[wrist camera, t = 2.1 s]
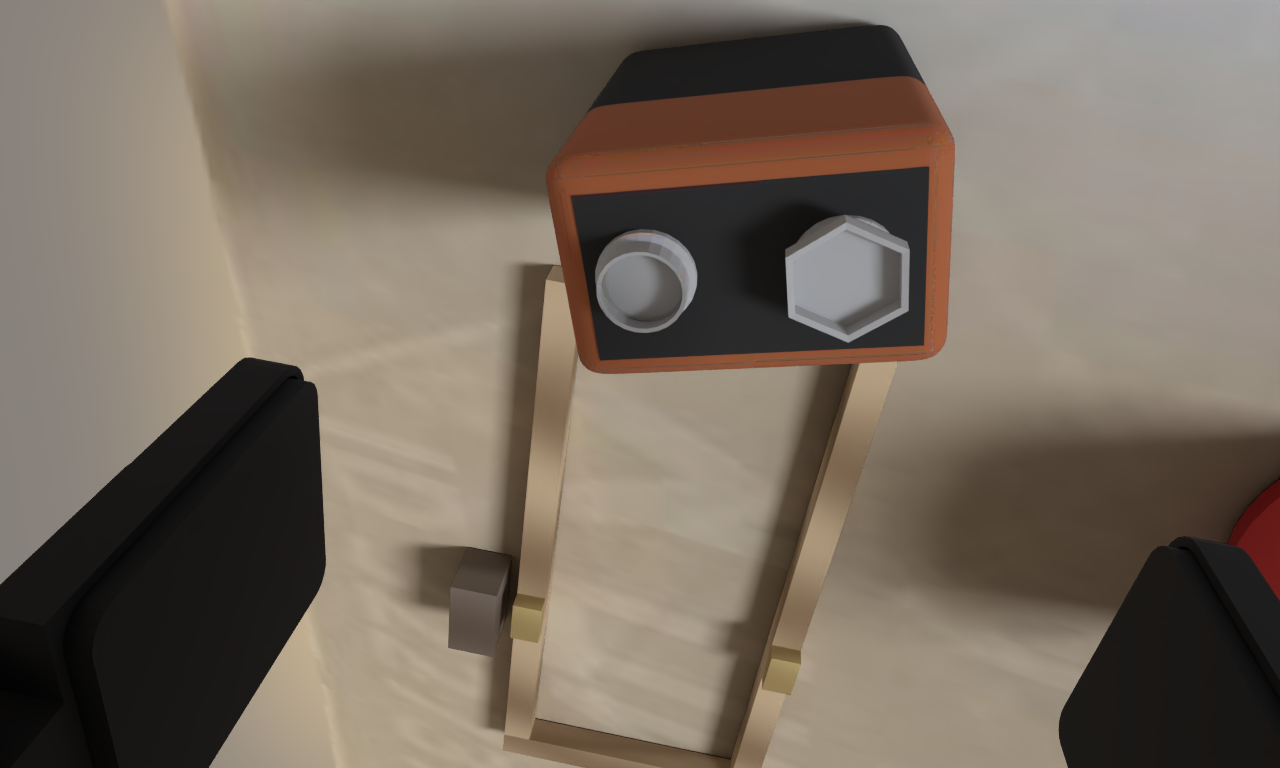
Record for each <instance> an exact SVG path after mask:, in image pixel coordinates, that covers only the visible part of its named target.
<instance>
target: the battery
mask: <svg viewBox="0 0 1280 768" xmlns="http://www.w3.org/2000/svg"><path fill="white" fill-rule="evenodd" d="M954 163H955V144H954V138H953V136H952V134H951V132H950V130H949V128H948V126H947V124H946V122H945V120H944V118H943V117H942V115H941V113H940V111H939V109H938V107H937V105H936V103H935V102H934V100H933V98H932V96H931V94H930V92H929V90H928V88H927V87H926V85H925V83H924V81H923V79H922V77H921V75H920V73H919V72H918V70H917V68H916V66H915V64H914V62H913V60H912V58H911V57H910V55H909V53H908V51H907V49H906V47H905V45H904V43H903V42H902V40H901V38H900V36H899V35H898V34H897V32H896V31H895V30H893V29H892V28H890V27H888V26H885V25H874V26H863V27H853V28H844V29H835V30H826V31H817V32H808V33H799V34H790V35H780V36H771V37H762V38H753V39H744V40H735V41H726V42H717V43H708V44H699V45H689V46H680V47H671V48H662V49H654V50H646V51H640V52H636V53H633V54H631V55H629V56H628V57H627V58H626V59H625V60H624V61H623V62H622V64H621V65H620V66H619V68H618V69H617V71H616V72H615V73H614V75H613V76H612V78H611V79H610V81H609V82H608V83H607V85H606V86H605V88H604V89H603V90H602V92H601V93H600V95H599V96H598V98H597V99H596V100H595V102H594V103H593V105H592V106H591V107H590V109H589V110H588V112H587V113H586V115H585V116H584V117H583V119H582V120H581V122H580V123H579V124H578V126H577V127H576V129H575V130H574V132H573V133H572V134H571V136H570V137H569V139H568V140H567V141H566V143H565V144H564V146H563V147H562V149H561V150H560V151H559V153H558V154H557V156H556V157H555V158H554V160H553V161H552V163H551V164H550V166H549V168H548V170H547V173H546V184H547V190H548V196H549V202H550V207H551V212H552V218H553V223H554V228H555V234H556V239H557V244H558V250H559V255H560V260H561V266H562V271H563V276H564V282H565V287H566V292H567V298H568V303H569V308H570V314H571V319H572V324H573V330H574V335H575V340H576V346H577V351H578V355H579V358H580V361H581V362H582V364H583V365H584V366H585V367H586V368H587V369H588V370H590V371H593V372H596V373H603V374H624V373H649V372H672V371H695V370H718V369H741V368H764V367H786V366H809V365H832V364H855V363H878V362H899V361H914V360H923V359H927V358H930V357H932V356H934V355H936V354H937V353H938V352H939V351H940V350H941V349H942V348H943V346H944V344H945V342H946V336H947V323H948V300H949V277H950V255H951V232H952V209H953V186H954Z"/></svg>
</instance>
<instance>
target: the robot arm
mask: <svg viewBox="0 0 1280 768" xmlns="http://www.w3.org/2000/svg"><path fill="white" fill-rule="evenodd" d="M325 566H326V555H325V535H324V514H323V494H322V474H321V454H320V433H319V413H318V395H317V389H316V387H315V384H313V383H312V382H307V381H304V377H303V374H302V372H301V370H300V369H299V368H298V367H297V366H292V365H287V364H282V363H277V362H271V361H266V360H261V359H256V358H244V359H242V360H241V361H239V362H238V363H237V364H236V365H235V366H234V367H233V368H231V369H230V370H229V371H228V372H227V373H226V374H225V375H224V376H223V377H222V378H221V379H220V380H219V381H218V382H217V383H215V384H214V385H213V386H212V387H211V388H210V389H209V390H208V391H207V392H206V393H205V394H204V395H203V396H202V397H201V398H200V399H198V400H197V401H196V402H195V403H194V404H193V405H192V406H191V407H190V408H189V409H188V410H187V411H186V412H185V413H184V414H183V415H182V416H180V417H179V418H178V419H177V420H176V421H175V422H174V423H173V424H172V425H171V426H170V427H169V428H168V429H167V430H166V431H165V432H163V433H162V434H161V435H160V436H159V437H158V438H157V439H156V440H155V441H154V442H153V443H152V444H151V445H150V446H149V447H148V448H147V449H145V450H144V451H143V452H142V453H141V454H140V455H139V456H138V457H137V458H136V459H135V460H134V461H133V462H132V463H131V464H129V465H128V466H126V467H125V468H124V469H123V470H122V471H121V472H120V473H119V474H118V475H116V476H115V477H114V478H113V479H112V480H111V481H110V482H109V483H108V484H107V485H106V486H105V487H104V488H103V489H102V490H100V491H99V492H98V493H97V494H96V495H95V496H94V497H93V498H92V499H91V500H90V501H89V502H88V503H87V504H86V505H85V506H83V508H81V509H80V510H79V511H78V512H77V513H76V514H75V515H74V516H73V517H72V518H71V519H70V520H69V521H68V522H66V523H65V524H64V525H63V526H62V527H61V528H60V529H59V530H58V531H57V532H56V533H55V534H54V535H53V536H52V537H51V538H49V539H48V540H47V541H46V542H45V543H44V544H43V545H42V546H41V547H40V548H39V549H38V550H37V551H36V552H35V553H33V554H32V555H31V556H30V557H29V558H28V559H27V560H26V561H25V562H24V563H23V564H22V565H21V566H20V567H19V568H18V569H17V570H15V572H13V573H12V574H11V575H10V576H9V577H8V578H7V579H6V580H5V581H4V582H3V583H2V584H0V768H209V766H210V765H211V763H212V761H213V760H214V758H215V756H216V755H217V753H218V751H219V750H220V749H221V747H222V745H223V744H224V742H225V740H226V739H227V737H228V735H229V734H230V732H231V731H232V729H233V728H234V726H235V724H236V723H237V721H238V720H239V718H240V716H241V715H242V713H243V711H244V710H245V708H246V707H247V705H248V704H249V702H250V700H251V699H252V697H253V696H254V694H255V692H256V691H257V689H258V687H259V686H260V684H261V683H262V681H263V679H264V678H265V676H266V675H267V673H268V671H269V670H270V668H271V667H272V665H273V663H274V662H275V660H276V658H277V657H278V655H279V654H280V652H281V651H282V649H283V647H284V646H285V644H286V642H287V641H288V639H289V638H290V636H291V634H292V633H293V631H294V630H295V628H296V626H297V625H298V623H299V622H300V620H301V618H302V617H303V615H304V614H305V612H306V610H307V609H308V607H309V606H310V604H311V602H312V601H313V599H314V598H315V596H316V594H317V592H318V590H319V588H320V586H321V583H322V580H323V577H324V572H325ZM1059 739H1060V743H1061V747H1062V750H1063V753H1064V756H1065V759H1066V763H1067V766H1068V768H1280V601H1279V599H1278V598H1277V596H1276V595H1275V593H1274V592H1273V590H1272V589H1271V587H1270V586H1269V584H1268V583H1267V581H1266V580H1265V578H1264V577H1263V575H1262V574H1261V572H1260V571H1259V569H1258V568H1257V566H1256V565H1255V563H1254V562H1253V560H1252V559H1251V557H1250V556H1249V555H1248V554H1247V553H1246V552H1245V551H1244V550H1243V549H1242V548H1239V547H1237V546H1233V545H1228V544H1223V543H1218V542H1212V541H1207V540H1202V539H1197V538H1191V537H1186V536H1184V537H1178V538H1177V539H1175V540H1174V541H1172V542H1171V543H1170V545H1169V546H1168V547H1167V546H1159V547H1157V548H1156V549H1155V550H1153V552H1152V553H1151V554H1150V556H1149V558H1148V559H1147V561H1146V563H1145V565H1144V566H1143V568H1142V570H1141V572H1140V573H1139V575H1138V577H1137V579H1136V580H1135V582H1134V584H1133V586H1132V588H1131V589H1130V591H1129V593H1128V595H1127V596H1126V598H1125V600H1124V602H1123V603H1122V605H1121V607H1120V609H1119V610H1118V612H1117V614H1116V616H1115V618H1114V619H1113V621H1112V623H1111V625H1110V626H1109V628H1108V630H1107V632H1106V633H1105V635H1104V637H1103V639H1102V640H1101V642H1100V644H1099V646H1098V648H1097V649H1096V651H1095V653H1094V655H1093V656H1092V658H1091V660H1090V662H1089V663H1088V665H1087V667H1086V669H1085V670H1084V672H1083V674H1082V676H1081V678H1080V679H1079V681H1078V683H1077V685H1076V686H1075V688H1074V690H1073V692H1072V693H1071V695H1070V697H1069V699H1068V701H1067V702H1066V704H1065V706H1064V708H1063V710H1062V712H1061V716H1060V721H1059Z"/></svg>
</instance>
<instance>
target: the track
mask: <svg viewBox="0 0 1280 768" xmlns="http://www.w3.org/2000/svg"><path fill="white" fill-rule="evenodd" d="M577 359H578V351H577V346H576V340H575V335H574V330H573V324H572V319H571V314H570V308H569V303H568V298H567V292H566V287H565V282H564V276H563V271H562V267H561V266H556V265H553V267H552V269H551V271H550V273H549V275H548V277H547V279H546V284H545V295H544V306H543V317H542V328H541V339H540V350H539V361H538V372H537V383H536V394H535V405H534V416H533V427H532V438H531V449H530V460H529V471H528V482H527V493H526V504H525V515H524V526H523V537H522V548H521V558H520V569H519V580H518V591H517V596H516V598H515V601H514V604H513V611H512V622H511V633H510V638H513V646H512V657H511V668H510V679H509V690H508V701H507V712H506V723H505V734H504V745H503V750H504V751H509V752H514V753H518V754H523V755H528V756H532V757H537V758H542V759H547V760H551V761H556V762H561V763H566V764H570V765H575V766H580V767H584V768H761V767H762V764H763V761H764V758H765V755H766V752H767V749H768V746H769V743H770V740H771V737H772V734H773V731H774V728H775V725H776V722H777V719H778V717H779V714H780V711H781V708H782V705H783V702H784V699H785V696H786V694H787V695H791V692H792V689H793V686H794V683H795V680H796V677H797V674H798V671H799V668H800V665H801V648H802V645H803V642H804V639H805V637H806V634H807V631H808V628H809V625H810V622H811V619H812V616H813V613H814V610H815V607H816V604H817V601H818V598H819V595H820V592H821V589H822V586H823V583H824V580H825V577H826V574H827V571H828V568H829V565H830V562H831V560H832V557H833V554H834V551H835V548H836V545H837V542H838V539H839V536H840V533H841V530H842V527H843V524H844V521H845V518H846V515H847V512H848V509H849V506H850V503H851V500H852V497H853V494H854V491H855V488H856V485H857V482H858V480H859V477H860V474H861V471H862V468H863V465H864V462H865V459H866V456H867V453H868V450H869V447H870V444H871V441H872V438H873V435H874V432H875V429H876V426H877V423H878V420H879V417H880V414H881V411H882V408H883V405H884V403H885V400H886V397H887V394H888V391H889V388H890V385H891V382H892V379H893V376H894V373H895V370H896V367H897V364H898V362H878V363H855V364H852V365H851V369H850V372H849V375H848V378H847V382H846V385H845V388H844V391H843V395H842V398H841V401H840V405H839V408H838V411H837V414H836V418H835V421H834V424H833V427H832V431H831V434H830V437H829V440H828V444H827V447H826V450H825V454H824V457H823V460H822V463H821V467H820V470H819V473H818V476H817V480H816V483H815V486H814V489H813V493H812V496H811V499H810V502H809V506H808V509H807V512H806V516H805V519H804V522H803V525H802V529H801V532H800V535H799V538H798V542H797V545H796V548H795V551H794V555H793V558H792V561H791V565H790V568H789V571H788V574H787V578H786V581H785V584H784V587H783V591H782V594H781V597H780V600H779V604H778V607H777V610H776V613H775V617H774V620H773V623H772V627H771V630H770V633H769V636H768V640H767V643H766V646H765V649H764V653H763V656H762V659H761V662H760V666H759V669H758V672H757V676H756V679H755V682H754V685H753V689H752V692H751V695H750V698H749V702H748V705H747V708H746V711H745V715H744V718H743V721H742V724H741V728H740V731H739V734H738V738H737V741H736V744H735V747H734V751H733V754H732V757H731V760H730V759H725V758H720V757H715V756H711V755H706V754H701V753H696V752H692V751H687V750H682V749H677V748H672V747H668V746H663V745H658V744H653V743H649V742H644V741H639V740H634V739H630V738H625V737H620V736H615V735H610V734H606V733H601V732H596V731H591V730H587V729H582V728H577V727H572V726H567V725H563V724H558V723H553V722H548V721H544V720H539V719H535V716H536V707H537V699H538V690H539V682H540V673H541V665H542V656H543V648H544V639H545V631H546V622H547V614H548V605H549V597H550V588H551V580H552V571H553V563H554V554H555V546H556V537H557V529H558V520H559V512H560V503H561V495H562V486H563V478H564V469H565V461H566V452H567V444H568V435H569V427H570V418H571V410H572V401H573V393H574V384H575V376H576V367H577ZM511 561H512V556H508V555H503V554H498V553H493V552H488V551H483V550H478V549H474V548H469V547H468V549H467V551H466V553H465V555H464V558H463V560H462V562H461V564H460V567H459V569H458V571H457V573H456V576H455V578H454V580H453V582H452V585H451V587H450V612H449V640H448V648H452V649H456V650H461V651H466V652H471V653H476V654H481V655H485V656H490V657H492V656H493V653H494V651H495V648H496V645H497V642H498V639H499V636H500V634H501V631H502V628H503V625H504V622H505V620H506V617H507V609H508V597H509V585H510V573H511Z"/></svg>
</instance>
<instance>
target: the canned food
mask: <svg viewBox="0 0 1280 768" xmlns="http://www.w3.org/2000/svg"><path fill="white" fill-rule="evenodd" d="M1228 545H1233V546H1237V547H1239V548H1242V549H1243V550H1244V551H1245V552H1246V553H1247V554H1248V555H1249V556H1250V557H1251V559H1252V560H1253V562H1254V563H1255V565H1256V566H1257V568H1258V569H1259V571H1260V572H1261V574H1262V575H1263V577H1264V578H1265V580H1266V581H1267V583H1268V584H1269V586H1270V587H1271V589H1272V590H1273V592H1274V593H1275V595H1276V596H1277V598H1278V599H1279V601H1280V480H1278V481H1277V482H1276V483H1274V484H1273V485H1272V486H1270V487H1269V488H1268V489H1266V490H1265V491H1264V492H1263V493H1262V494H1261V495H1260V496H1259V497H1258V498H1257V499H1256V500H1255V501H1254V502H1253V503H1252V504H1251V505H1250V506H1249V507H1248V508H1247V509H1246V511H1245V512H1244V514H1243V515H1242V517H1241V518H1240V520H1239V521H1238V523H1237V524H1236V525H1235V527H1234V530H1233V532H1232V535H1231V537H1230V540H1229V542H1228Z"/></svg>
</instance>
